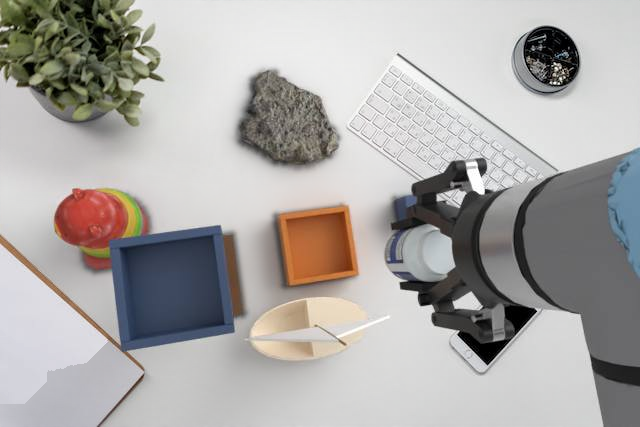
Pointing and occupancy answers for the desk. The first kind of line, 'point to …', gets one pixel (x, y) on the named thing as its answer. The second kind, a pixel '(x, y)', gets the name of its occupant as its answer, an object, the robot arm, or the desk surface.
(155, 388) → the desk surface
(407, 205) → the slate block
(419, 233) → the pill bottle
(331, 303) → the toy sailboat
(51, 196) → the desk surface
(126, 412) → the desk surface
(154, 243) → the slate bin
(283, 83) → the stone slab
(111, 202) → the stacking bear
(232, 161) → the desk surface
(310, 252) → the amber bin
